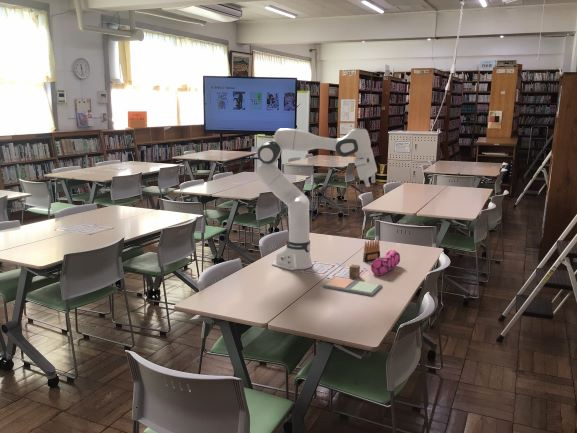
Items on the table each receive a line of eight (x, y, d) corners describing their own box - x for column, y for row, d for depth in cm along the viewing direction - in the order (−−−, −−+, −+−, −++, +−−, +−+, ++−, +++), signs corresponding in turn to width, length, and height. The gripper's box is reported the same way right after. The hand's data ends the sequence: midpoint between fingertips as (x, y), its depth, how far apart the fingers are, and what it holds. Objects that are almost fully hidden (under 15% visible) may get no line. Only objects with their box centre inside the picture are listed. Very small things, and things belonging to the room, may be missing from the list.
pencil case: (388, 278, 247) (388, 259, 244) (370, 274, 252) (370, 256, 249) (401, 266, 264) (402, 248, 262) (384, 263, 269) (385, 246, 267)
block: (349, 277, 247) (349, 266, 246) (352, 275, 250) (352, 264, 249) (356, 279, 245) (356, 267, 244) (359, 276, 249) (359, 265, 247)
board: (322, 287, 234) (322, 284, 234) (334, 278, 246) (334, 276, 245) (372, 296, 222) (372, 293, 221) (382, 286, 234) (382, 284, 233)
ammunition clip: (378, 258, 278) (378, 238, 276) (380, 259, 277) (380, 239, 274) (363, 261, 273) (363, 241, 271) (365, 262, 272) (365, 241, 269)
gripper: (365, 156, 260) (371, 181, 262) (353, 163, 242) (359, 190, 245) (376, 154, 257) (382, 179, 259) (365, 160, 239) (371, 187, 242)
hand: (371, 184), depth 252 cm, fingers open, 8 cm apart
